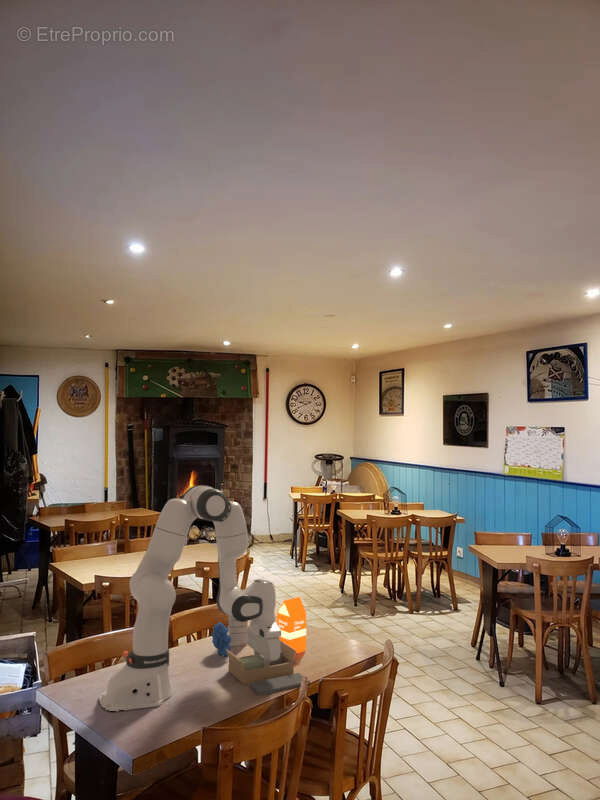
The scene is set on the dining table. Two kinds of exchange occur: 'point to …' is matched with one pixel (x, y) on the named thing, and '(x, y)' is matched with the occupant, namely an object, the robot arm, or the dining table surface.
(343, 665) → the dining table surface
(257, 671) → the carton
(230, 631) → the supplement box
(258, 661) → the block
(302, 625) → the orange juice
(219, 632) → the grapes
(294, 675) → the rubber mat
